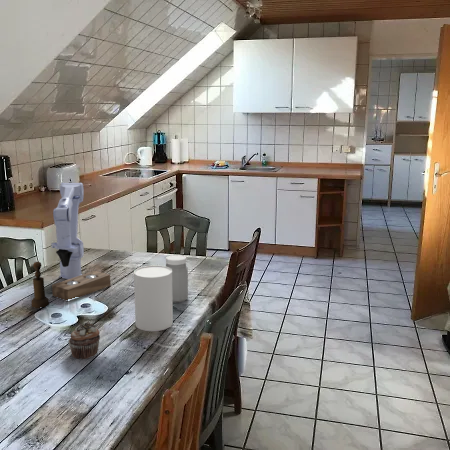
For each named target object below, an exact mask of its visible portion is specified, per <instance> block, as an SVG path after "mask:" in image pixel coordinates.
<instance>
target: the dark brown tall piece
mask: <svg viewBox="0 0 450 450" xmlns="http://www.w3.org/2000/svg"><path fill="white" fill-rule="evenodd" d="M32 266H33V267H32V268H33V269H34V270H35V272H34V275H35V277H34V278H33V279H32V285H33V294H34V295H33V296H34V297H33V298H32V299H31V300H30V301H31V307H32V308H33V307H35V308H34V309H41V308H40V307H44V308H47V307H49V305H50V299H49V298H48V296H46V292H45V279H44V277H42V275H41V274H42V272H41V271H40V270H41V268H42V263H41V262H40V261H34V263H33V264H32ZM46 306H47V307H46Z"/></svg>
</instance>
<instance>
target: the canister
mask: <svg viewBox="0 0 450 450" xmlns="http://www.w3.org/2000/svg"><path fill="white" fill-rule="evenodd" d="M133 284H134V285H133V286H134V287H133V288H134V315H135V318H134V319H135V326H136V328H137V329H139V330H141V331H146V332H159V331H163V330H167V329H168V328H170V327H171V326H173V323H174V321H173V319H174V317H173V313H174V312H173V310H174V309H173V303H172V269H170V268H169V267H166V265H158V264H157V265H156V264H155V265H146V266H145V265H144V266H140V267H138V268H135V270H134V271H133Z"/></svg>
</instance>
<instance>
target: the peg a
mask: <svg viewBox="0 0 450 450" xmlns="http://www.w3.org/2000/svg"><path fill="white" fill-rule="evenodd" d="M76 284H78V282H77V281H70V282H68V283H67V285H71V286H73V285H76Z"/></svg>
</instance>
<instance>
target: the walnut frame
mask: <svg viewBox="0 0 450 450" xmlns="http://www.w3.org/2000/svg"><path fill="white" fill-rule="evenodd" d="M87 275H96V277H95V278H93V279H88V278H86V276H87ZM70 281H77V282H78V284H76V285H73V286H71V285H67V283H68V282H70ZM111 284H112V283H111V274H109V273H105V272H100V271H97V270H92V271H89V272H86V273H83V275H80V276H77V277H74V278H71V279H65V280H63V281H60V282H57V283H54V284H52V285H51V287H52V289H51V291H52V297H53V296H55V297H54V298H56V297H58V298H57V299H59V298H61V300H63V299H64V300H63V301H66V300H68V299H72V298H75V297H79V298H82V297H84V296H87V295H89V294H92V293H95V292H97V291H100V290H102V289H105V288H109V287H111Z"/></svg>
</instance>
